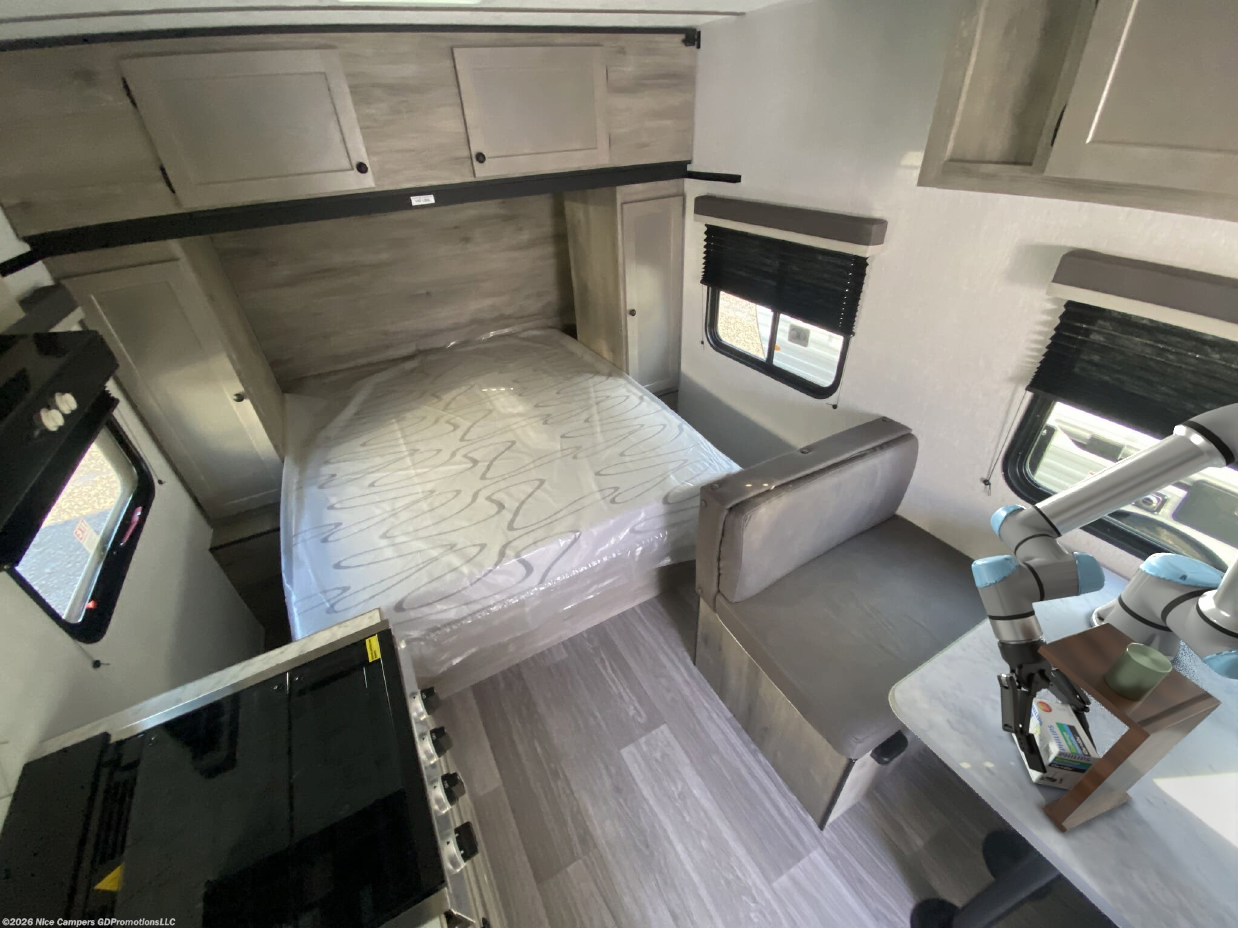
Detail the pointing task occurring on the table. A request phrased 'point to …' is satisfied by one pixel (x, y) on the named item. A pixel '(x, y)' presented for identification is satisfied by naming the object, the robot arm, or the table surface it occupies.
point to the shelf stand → (1124, 714)
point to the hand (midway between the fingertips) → (1063, 759)
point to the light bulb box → (1059, 745)
